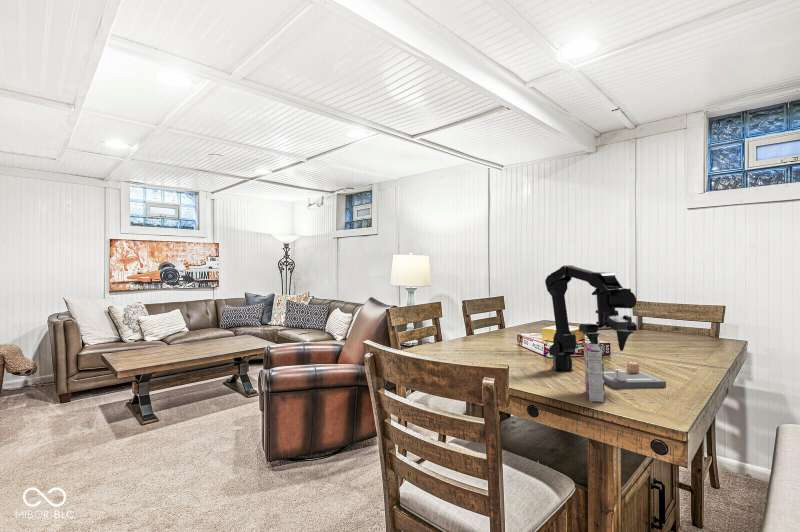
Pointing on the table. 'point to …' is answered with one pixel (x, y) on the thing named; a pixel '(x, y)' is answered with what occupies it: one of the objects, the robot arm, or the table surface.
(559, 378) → the table surface
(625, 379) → the fader
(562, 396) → the table surface
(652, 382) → the console
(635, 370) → the block
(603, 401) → the candy bar box
